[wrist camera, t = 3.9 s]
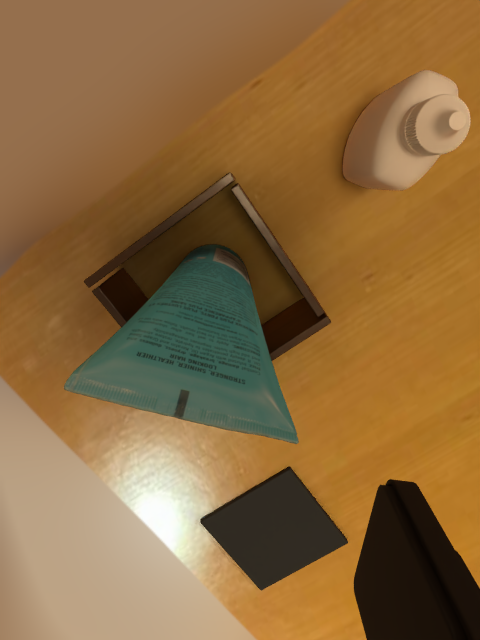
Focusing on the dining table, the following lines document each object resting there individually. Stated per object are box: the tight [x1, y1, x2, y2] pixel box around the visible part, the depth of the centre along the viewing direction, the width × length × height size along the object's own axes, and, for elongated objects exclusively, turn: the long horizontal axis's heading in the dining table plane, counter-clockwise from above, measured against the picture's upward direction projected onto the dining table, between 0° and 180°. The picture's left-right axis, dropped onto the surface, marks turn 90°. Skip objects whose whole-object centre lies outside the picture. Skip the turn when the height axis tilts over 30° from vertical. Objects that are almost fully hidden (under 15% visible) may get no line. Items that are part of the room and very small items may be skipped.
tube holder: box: [84, 173, 331, 361], centre depth 30 cm, size 10×10×6 cm
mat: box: [200, 467, 348, 590], centre depth 39 cm, size 9×9×1 cm
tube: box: [64, 244, 299, 444], centre depth 23 cm, size 8×5×19 cm, turn 80°
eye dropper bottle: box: [343, 70, 471, 190], centre depth 24 cm, size 4×6×12 cm
